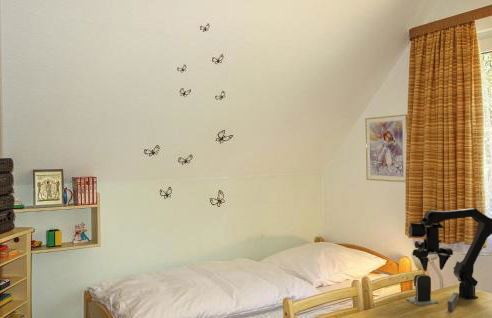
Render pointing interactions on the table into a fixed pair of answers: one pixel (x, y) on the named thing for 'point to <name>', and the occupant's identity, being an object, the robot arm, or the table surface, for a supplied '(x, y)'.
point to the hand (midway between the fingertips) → (433, 270)
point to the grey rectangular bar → (452, 301)
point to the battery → (422, 287)
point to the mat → (420, 301)
